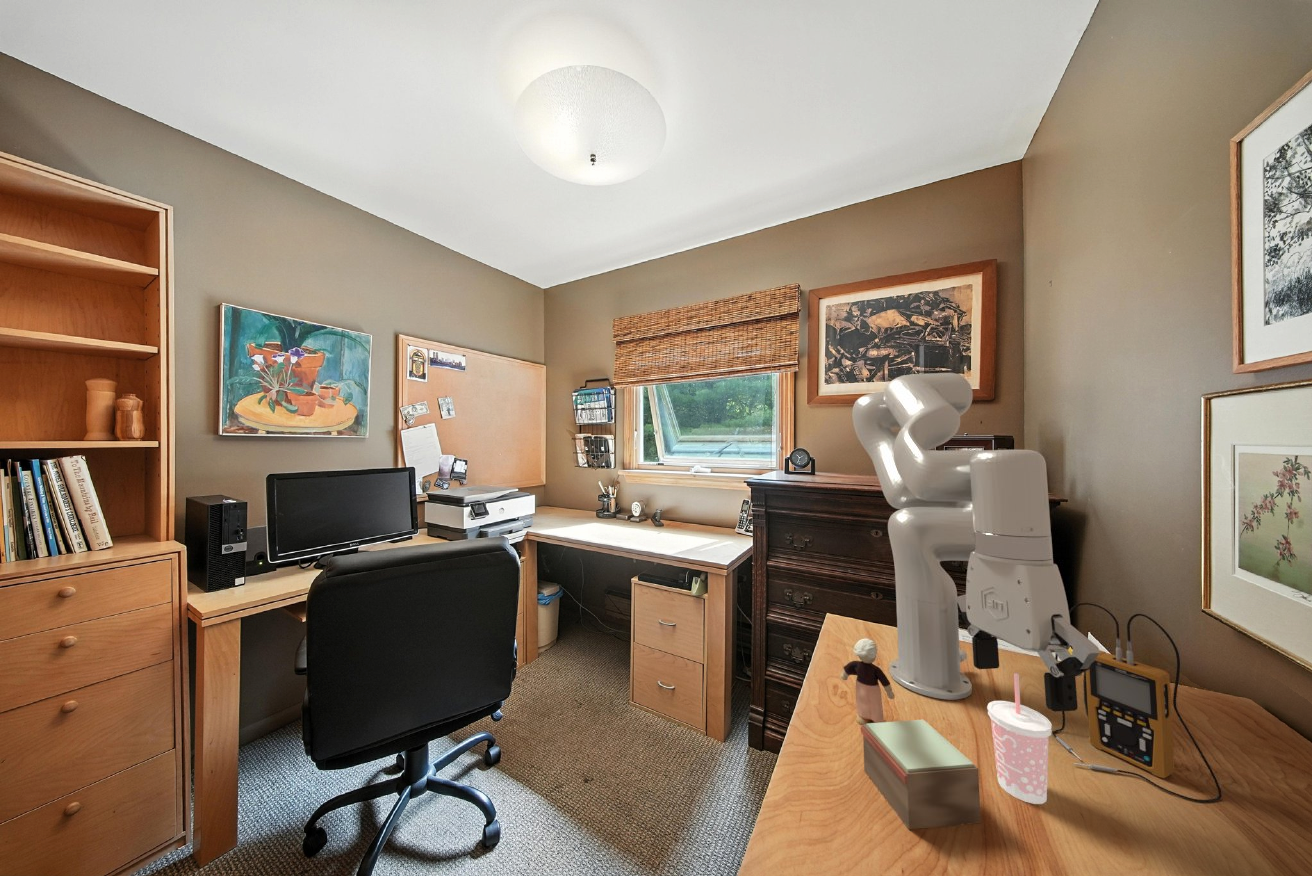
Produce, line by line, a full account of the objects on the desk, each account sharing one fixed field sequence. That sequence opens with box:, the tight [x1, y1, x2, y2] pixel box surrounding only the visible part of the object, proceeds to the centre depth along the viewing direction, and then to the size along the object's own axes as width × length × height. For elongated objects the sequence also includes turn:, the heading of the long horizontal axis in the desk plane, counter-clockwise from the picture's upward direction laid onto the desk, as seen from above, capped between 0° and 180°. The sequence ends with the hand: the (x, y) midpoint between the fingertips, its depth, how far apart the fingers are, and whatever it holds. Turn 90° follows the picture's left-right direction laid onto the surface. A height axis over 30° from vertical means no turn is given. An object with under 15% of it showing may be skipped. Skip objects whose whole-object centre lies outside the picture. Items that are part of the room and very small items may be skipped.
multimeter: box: [1051, 602, 1223, 803], centre depth 55 cm, size 15×10×20 cm
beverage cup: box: [986, 672, 1053, 805], centre depth 52 cm, size 6×6×14 cm
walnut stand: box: [860, 719, 982, 830], centre depth 51 cm, size 9×9×6 cm
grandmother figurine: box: [840, 637, 895, 726], centre depth 65 cm, size 8×4×13 cm, turn 57°
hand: (1020, 686), depth 52 cm, fingers open, 9 cm apart
